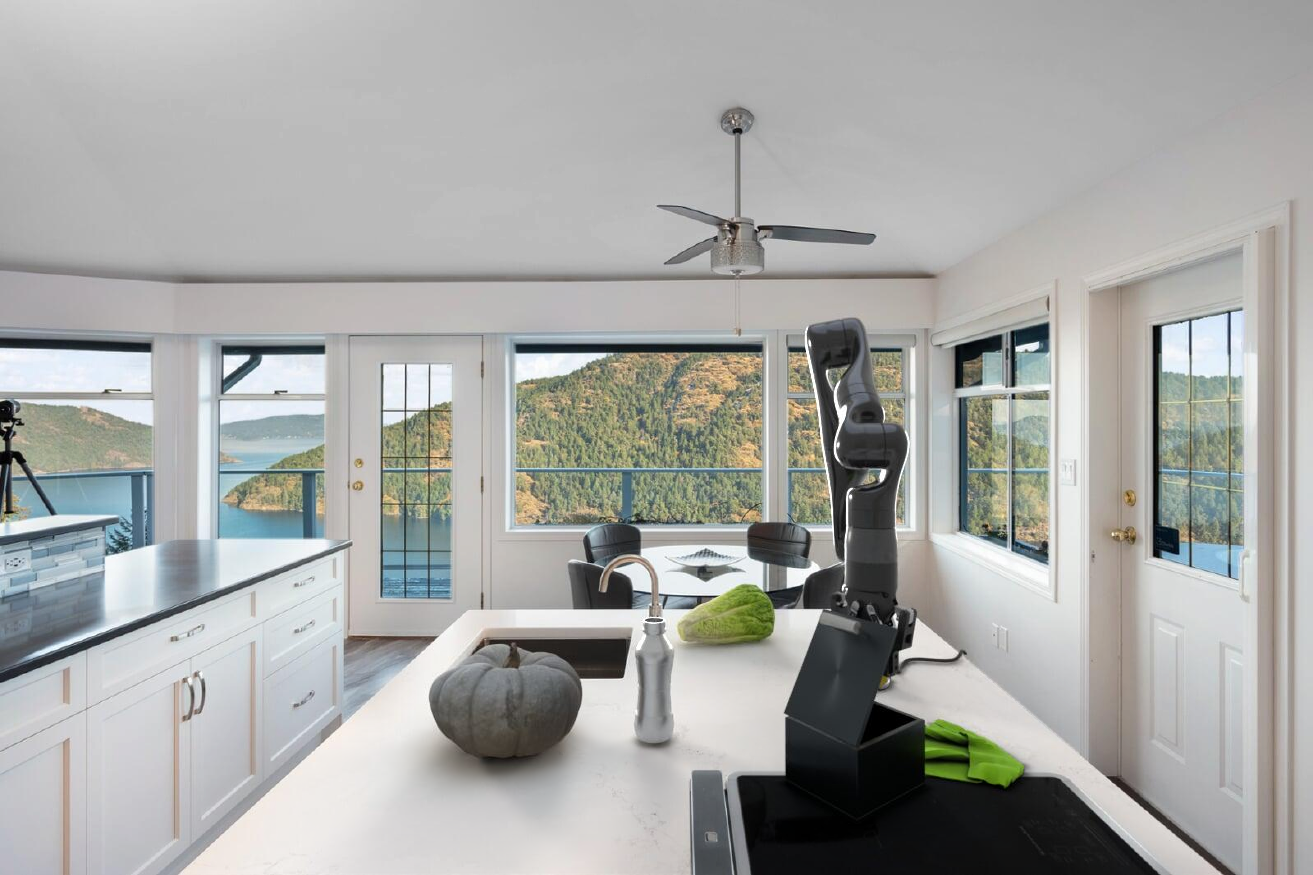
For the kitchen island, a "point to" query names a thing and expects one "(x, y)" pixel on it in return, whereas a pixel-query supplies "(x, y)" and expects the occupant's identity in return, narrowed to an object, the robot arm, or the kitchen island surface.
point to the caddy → (858, 763)
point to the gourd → (506, 701)
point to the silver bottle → (654, 683)
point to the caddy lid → (841, 675)
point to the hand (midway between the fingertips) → (871, 669)
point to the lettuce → (730, 618)
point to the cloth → (967, 756)
